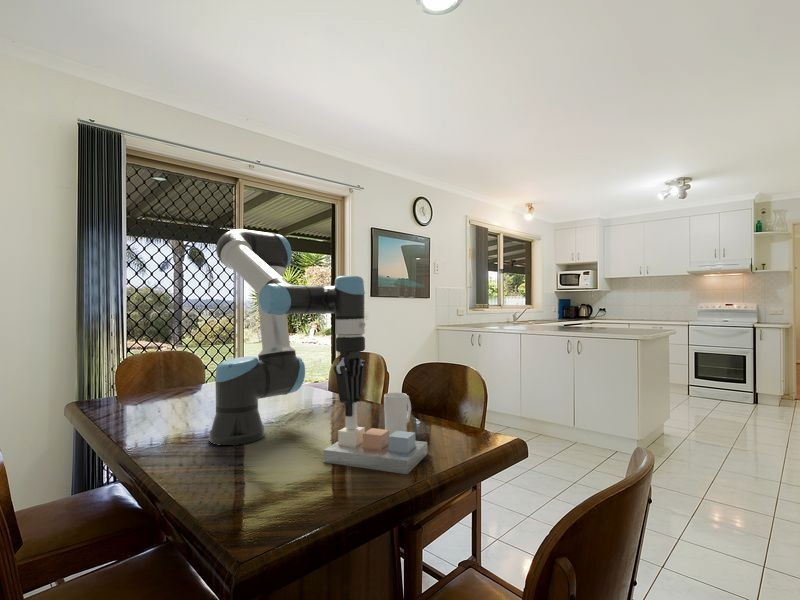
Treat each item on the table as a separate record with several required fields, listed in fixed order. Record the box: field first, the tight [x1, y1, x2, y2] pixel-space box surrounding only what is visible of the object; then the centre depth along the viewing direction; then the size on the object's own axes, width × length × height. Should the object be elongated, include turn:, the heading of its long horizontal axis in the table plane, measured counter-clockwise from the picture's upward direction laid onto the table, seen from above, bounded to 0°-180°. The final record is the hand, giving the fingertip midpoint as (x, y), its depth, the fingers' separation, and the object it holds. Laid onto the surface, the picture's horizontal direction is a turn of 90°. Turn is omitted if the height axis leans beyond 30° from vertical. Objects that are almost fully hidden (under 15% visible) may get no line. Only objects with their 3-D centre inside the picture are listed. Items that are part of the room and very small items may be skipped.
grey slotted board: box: [322, 440, 428, 475], centre depth 101 cm, size 22×14×3 cm, turn 68°
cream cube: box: [337, 426, 366, 447], centre depth 104 cm, size 5×5×5 cm
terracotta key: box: [363, 427, 389, 451], centre depth 102 cm, size 5×5×5 cm
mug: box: [383, 392, 412, 436], centre depth 121 cm, size 10×7×12 cm, turn 137°
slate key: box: [389, 431, 416, 454], centre depth 99 cm, size 5×5×5 cm
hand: (351, 428), depth 104 cm, fingers closed
